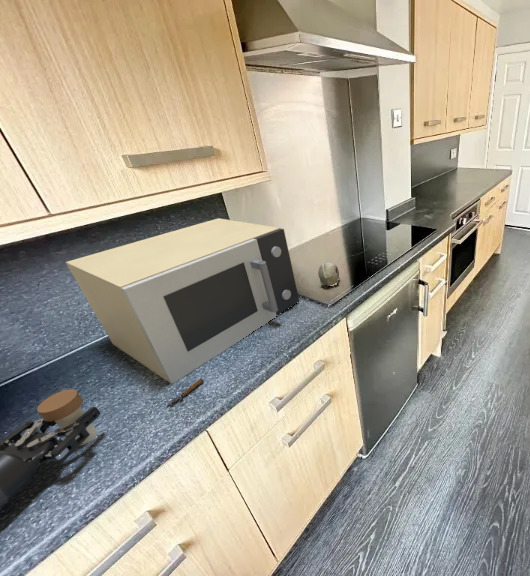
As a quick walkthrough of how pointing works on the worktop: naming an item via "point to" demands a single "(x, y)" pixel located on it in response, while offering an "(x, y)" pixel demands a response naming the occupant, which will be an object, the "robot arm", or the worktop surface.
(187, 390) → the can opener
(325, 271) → the garlic bulb
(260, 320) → the microwave door
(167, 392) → the worktop surface
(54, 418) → the mushroom
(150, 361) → the microwave
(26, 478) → the robot arm
